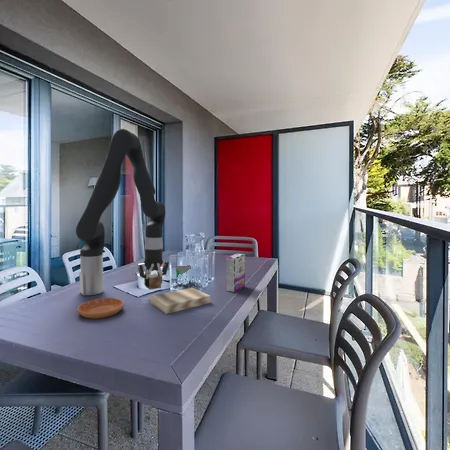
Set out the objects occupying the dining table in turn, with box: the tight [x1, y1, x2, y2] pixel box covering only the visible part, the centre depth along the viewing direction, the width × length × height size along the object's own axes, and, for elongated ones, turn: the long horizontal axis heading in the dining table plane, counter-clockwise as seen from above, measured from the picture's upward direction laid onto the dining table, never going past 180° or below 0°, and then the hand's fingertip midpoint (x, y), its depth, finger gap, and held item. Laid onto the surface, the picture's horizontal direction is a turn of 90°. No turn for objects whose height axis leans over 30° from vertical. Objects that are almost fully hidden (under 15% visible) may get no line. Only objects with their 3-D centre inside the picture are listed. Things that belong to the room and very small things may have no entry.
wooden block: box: [150, 287, 211, 315], centre depth 118 cm, size 20×14×3 cm
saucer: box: [77, 297, 125, 320], centre depth 108 cm, size 16×16×3 cm
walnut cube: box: [144, 273, 162, 290], centre depth 126 cm, size 5×5×5 cm
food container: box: [175, 265, 192, 278], centre depth 147 cm, size 12×6×10 cm, turn 168°
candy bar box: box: [225, 253, 246, 293], centre depth 139 cm, size 11×5×16 cm, turn 150°
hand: (153, 285), depth 126 cm, fingers closed on walnut cube, 5 cm apart
